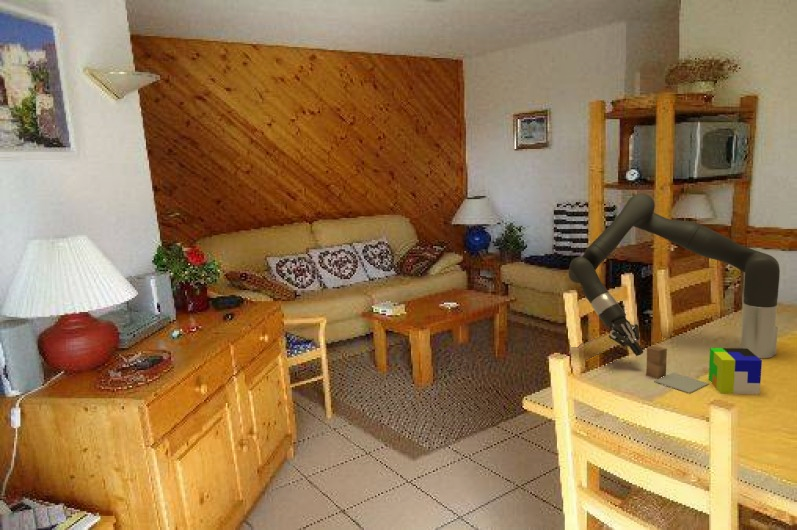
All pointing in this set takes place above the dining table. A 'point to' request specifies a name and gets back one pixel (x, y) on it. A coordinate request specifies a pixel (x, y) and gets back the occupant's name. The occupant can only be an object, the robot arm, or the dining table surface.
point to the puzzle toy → (735, 370)
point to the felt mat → (681, 382)
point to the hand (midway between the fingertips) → (640, 354)
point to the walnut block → (656, 361)
